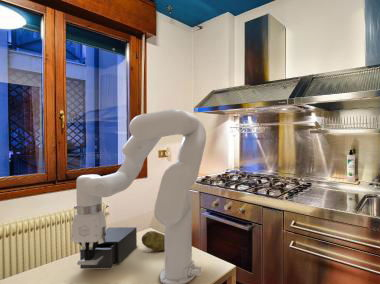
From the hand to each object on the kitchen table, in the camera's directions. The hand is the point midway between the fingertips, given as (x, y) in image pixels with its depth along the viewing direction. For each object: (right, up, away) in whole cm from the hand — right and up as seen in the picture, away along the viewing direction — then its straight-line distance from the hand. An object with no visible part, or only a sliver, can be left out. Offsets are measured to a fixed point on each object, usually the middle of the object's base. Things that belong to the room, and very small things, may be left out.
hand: (89, 258), depth 83 cm
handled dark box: (0, -5, +7) cm, 9 cm away
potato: (+17, -6, +20) cm, 26 cm away
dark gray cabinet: (0, -6, +14) cm, 16 cm away
